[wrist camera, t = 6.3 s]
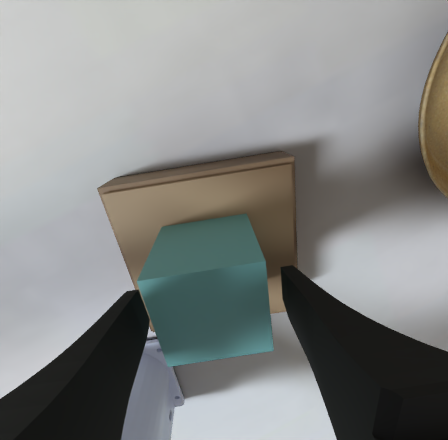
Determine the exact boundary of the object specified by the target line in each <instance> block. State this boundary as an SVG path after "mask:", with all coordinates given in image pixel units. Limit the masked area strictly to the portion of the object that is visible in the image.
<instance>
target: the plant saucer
mask: <svg viewBox="0 0 448 440" xmlns="http://www.w3.org/2000/svg"><path fill="white" fill-rule="evenodd" d="M418 131H419V143H420V149H421V154H422V157H423V161H424V164H425V166H426V169H427V171H428V173H429V175H430V178H431V179H432V181H433V182H434V184H435V185H436V187H437V188H438V189H439V190H440V191H441V193H443V194H444V195H445V196H446V197H447V198H448V32H447V34H446V36H445V38H444V40H443V42H442V44H441V46H440V48H439V50H438V52H437V54H436V57H435V59H434V61H433V64H432V66H431V69H430V71H429V74H428V77H427V80H426V83H425V86H424V89H423V94H422V98H421V103H420V110H419V122H418Z"/></svg>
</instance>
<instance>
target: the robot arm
mask: <svg viewBox="0 0 448 440" xmlns="http://www.w3.org/2000/svg"><path fill="white" fill-rule="evenodd" d="M280 268H281V284H282V299H283V302H284V305H285V308H286V311H287V314H288V317H289V320H290V322H291V324H292V326H293V328H294V330H295V333H296V335H297V337H298V339H299V341H300V343H301V346H302V348H303V350H304V352H305V354H306V356H307V358H308V361H309V363H310V365H311V368H312V370H313V372H314V375H315V378H316V381H317V383H318V386H319V389H320V392H321V395H322V397H323V400H324V403H325V406H326V409H327V412H328V415H329V417H330V420H331V423H332V426H333V429H334V432H335V435H336V438H337V440H448V352H447V351H444V350H441V349H438V348H436V347H433V346H430V345H427V344H425V343H422V342H420V341H417V340H415V339H413V338H410V337H408V336H405V335H403V334H401V333H399V332H396V331H394V330H392V329H390V328H388V327H386V326H384V325H382V324H380V323H377V322H375V321H373V320H371V319H370V318H368V317H366V316H364V315H362V314H360V313H359V312H357V311H355V310H353V309H352V308H350V307H348V306H347V305H345V304H343V303H342V302H340V301H339V300H337V299H336V298H334V297H333V296H331V295H330V294H329V293H327V292H326V291H324V290H323V289H322V288H320V287H319V286H318V285H316V284H315V283H314V282H313V281H311V280H310V279H309V278H308V277H306V276H305V275H304V274H303V273H302V272H300V271H299V270H298V269H297V268H296V267H294V266H293V265H290V266H284V267H280ZM149 322H150V319H149V316H148V313H147V311H146V308H145V305H144V302H143V300H142V297H141V294H140V292H139V290H132V291H127V292H126V293H124V294H123V295H122V296H121V297H120V298H119V299H118V300H117V301H116V302H115V303H114V304H113V305H112V306H111V307H110V308H109V309H108V311H107V312H106V313H105V314H104V315H103V316H102V317H101V318H100V319H99V320H98V321H97V322H96V323H95V324H94V325H92V326H91V327H90V328H89V329H88V330H87V331H86V332H85V333H84V334H83V335H82V336H81V337H80V338H79V339H78V340H76V341H75V342H74V343H73V344H72V345H71V346H70V347H69V348H67V349H66V350H65V351H64V352H63V353H62V354H60V355H59V356H58V357H57V358H55V359H54V360H53V361H52V362H51V363H49V364H48V365H47V366H45V367H44V368H43V369H41V370H40V371H39V372H37V373H36V374H35V375H33V376H32V377H31V378H29V379H28V380H27V381H25V382H24V383H23V384H21V385H20V386H18V387H17V388H16V389H14V390H13V391H11V392H10V393H8V394H7V395H5V396H4V397H2V398H1V399H0V440H171V432H172V424H173V416H174V408H175V407H178V406H182V405H183V404H184V397H183V394H182V391H181V388H180V386H179V383H178V380H177V377H176V375H175V372H174V369H173V366H172V367H168V366H167V363H166V360H165V357H164V355H163V352H162V349H161V347H160V344H159V341H158V339H155V340H149V341H146V340H147V335H148V329H149ZM159 348H160V349H159Z"/></svg>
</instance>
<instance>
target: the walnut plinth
mask: <svg viewBox="0 0 448 440" xmlns="http://www.w3.org/2000/svg"><path fill="white" fill-rule="evenodd" d="M97 189H98V192H99V195H100V197H101V200H102V203H103V205H104V208H105V210H106V213H107V216H108V218H109V221H110V224H111V226H112V229H113V232H114V234H115V237H116V239H117V242H118V245H119V247H120V250H121V253H122V255H123V258H124V261H125V263H126V266H127V269H128V271H129V274H130V276H131V279H132V282H133V284H134V287H135V290H139V292H140V289H139V286H138V284H137V280H138V277H139V275H140V273H141V271H142V269H143V266H144V264H145V262H146V260H147V258H148V256H149V253H150V251H151V249H152V247H153V245H154V242H155V240H156V238H157V236H158V234H159V232H160V229H161V227H164V226H170V225H177V224H183V223H189V222H196V221H202V220H208V219H215V218H221V217H227V216H234V215H240V214H246V213H247V216H248V218H249V221H250V223H251V226H252V228H253V231H254V233H255V236H256V238H257V241H258V243H259V246H260V248H261V251H262V253H263V256H264V258H265V261H266V270H267V282H268V293H269V304H270V314H273V313H279V312H285V311H286V308H285V305H284V302H283V299H282V284H281V268H280V267H284V266H290V265H293V266H294V267H296V268H297V237H296V201H295V165H294V156H292V155H289V154H287V153H285V152H282V151H278V152H272V153H265V154H259V155H253V156H247V157H241V158H235V159H228V160H222V161H216V162H210V163H204V164H197V165H191V166H185V167H179V168H173V169H167V170H160V171H154V172H148V173H142V174H136V175H130V176H123V177H117V178H114V179H112V180H110V181H109V182H107V183H105V184H104V185H102V186H100V187H99V188H97ZM140 294H141V292H140ZM141 297H142V295H141ZM142 300H143V297H142ZM143 302H144V300H143ZM144 305H145V303H144ZM145 308H146V306H145ZM146 311H147V308H146ZM147 313H148V311H147ZM148 316H149V314H148ZM149 319H150V316H149ZM149 327H150V329H151V331H153V332H155V330H154V327H153V325H152V322H151V319H150V322H149Z"/></svg>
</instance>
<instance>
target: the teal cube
mask: <svg viewBox="0 0 448 440" xmlns="http://www.w3.org/2000/svg"><path fill="white" fill-rule="evenodd" d="M137 284H138V286H139V289H140V292H141V295H142V297H143V300H144V303H145V306H146V308H147V311H148V314H149V316H150V319H151V322H152V325H153V327H154V330H155V333H156V336H157V338H158V341H159V344H160V347H161V349H162V352H163V355H164V357H165V360H166V363H167V366H168V367H172V366H178V365H185V364H191V363H198V362H204V361H211V360H217V359H224V358H230V357H237V356H243V355H250V354H256V353H263V352H269V351H274V349H273V338H272V327H271V315H270V304H269V293H268V282H267V270H266V261H265V258H264V256H263V253H262V251H261V248H260V246H259V243H258V241H257V238H256V236H255V233H254V231H253V228H252V226H251V223H250V221H249V218H248V216H247V213H246V214H240V215H234V216H227V217H221V218H215V219H208V220H202V221H196V222H189V223H183V224H177V225H170V226H164V227H161V229H160V232H159V234H158V236H157V238H156V240H155V242H154V245H153V247H152V249H151V251H150V253H149V256H148V258H147V260H146V262H145V264H144V266H143V269H142V271H141V273H140V275H139V277H138V280H137Z"/></svg>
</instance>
